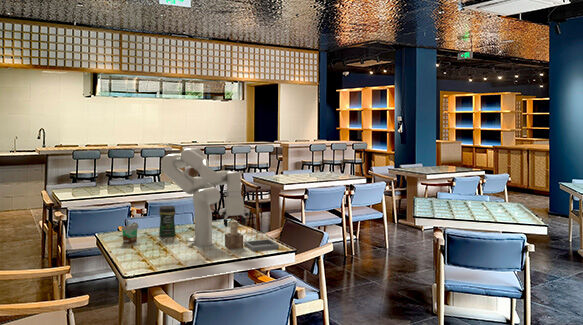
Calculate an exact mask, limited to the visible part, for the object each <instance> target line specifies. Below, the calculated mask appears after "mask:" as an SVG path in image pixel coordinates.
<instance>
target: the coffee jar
mask: <svg viewBox="0 0 583 325" xmlns="http://www.w3.org/2000/svg"><path fill="white" fill-rule="evenodd" d="M158 213H159V217H160V218H159V219H160V220H159V228H158V229H159V230H158V231H159V232H158V234H159V237H163V238H166V237H167V238H169V237H174V236H176V226H175V224H176V223H175V215H176V207H175V206H174V205H160V206H159V211H158Z"/></svg>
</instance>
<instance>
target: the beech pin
mask: <svg viewBox="0 0 583 325" xmlns="http://www.w3.org/2000/svg"><path fill="white" fill-rule="evenodd" d="M238 223H239V222H238V221H237V220H231V221H230V222H229V224H230V226H229V227H230V228H229V229H230V230H229V233H230V236H237V235H238V231H239V230H238V228H239V224H238Z"/></svg>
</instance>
